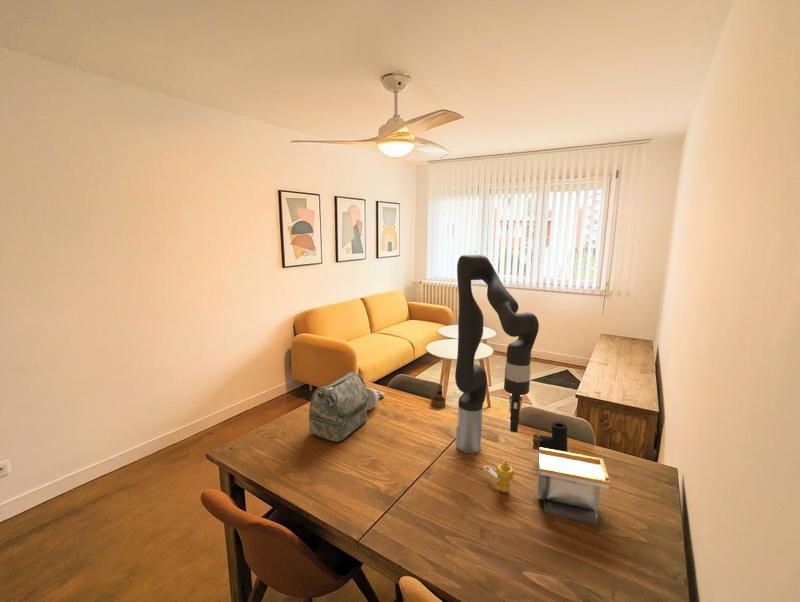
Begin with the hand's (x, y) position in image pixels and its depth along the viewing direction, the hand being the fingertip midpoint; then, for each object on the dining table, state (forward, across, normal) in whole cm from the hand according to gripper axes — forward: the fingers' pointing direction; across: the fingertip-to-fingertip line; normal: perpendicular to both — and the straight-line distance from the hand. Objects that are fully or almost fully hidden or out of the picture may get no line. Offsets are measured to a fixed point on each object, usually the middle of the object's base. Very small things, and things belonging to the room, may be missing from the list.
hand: (514, 425), depth 116 cm
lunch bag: (+23, -18, -72) cm, 77 cm away
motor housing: (+22, +2, +17) cm, 28 cm away
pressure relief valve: (+23, -1, -4) cm, 23 cm away
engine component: (+24, -44, -68) cm, 84 cm away
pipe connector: (+23, -20, +14) cm, 33 cm away
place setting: (+23, -56, -34) cm, 70 cm away
